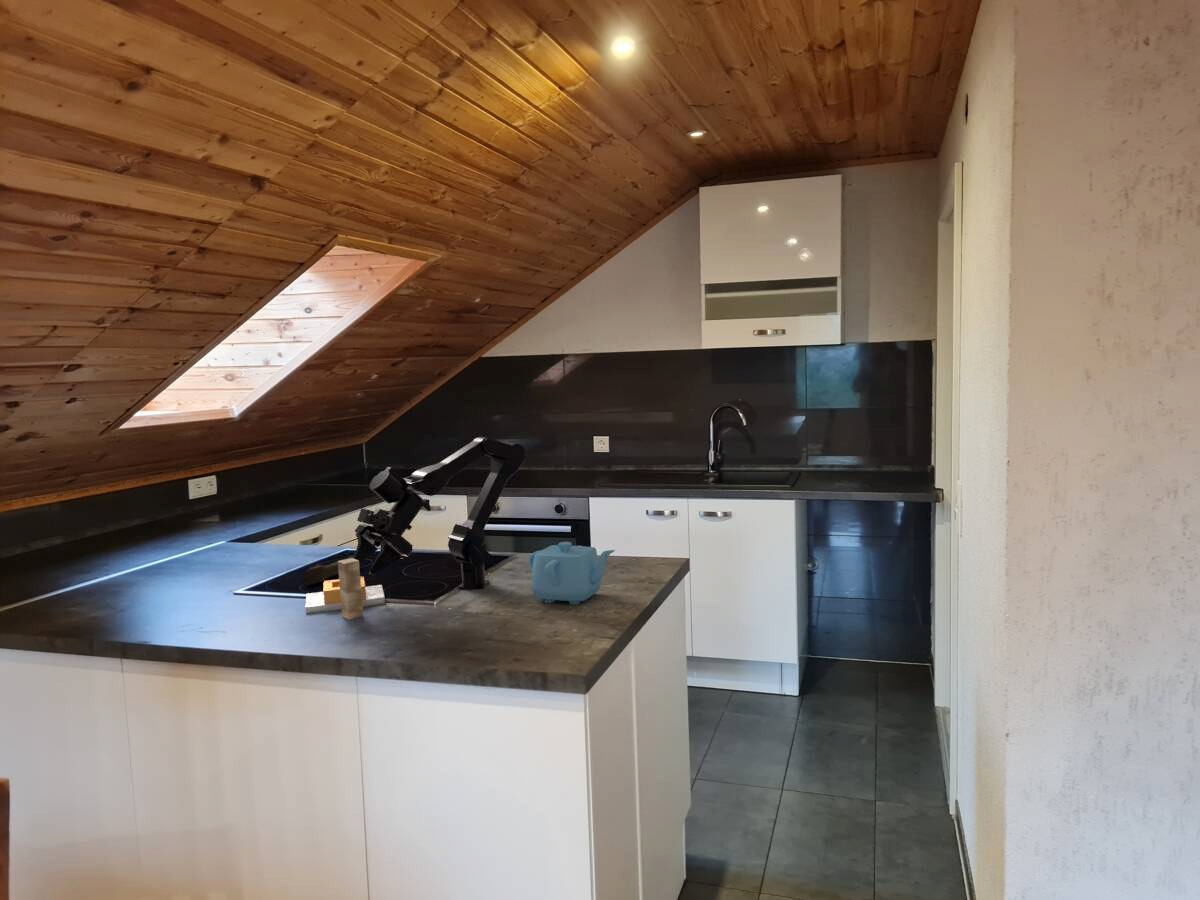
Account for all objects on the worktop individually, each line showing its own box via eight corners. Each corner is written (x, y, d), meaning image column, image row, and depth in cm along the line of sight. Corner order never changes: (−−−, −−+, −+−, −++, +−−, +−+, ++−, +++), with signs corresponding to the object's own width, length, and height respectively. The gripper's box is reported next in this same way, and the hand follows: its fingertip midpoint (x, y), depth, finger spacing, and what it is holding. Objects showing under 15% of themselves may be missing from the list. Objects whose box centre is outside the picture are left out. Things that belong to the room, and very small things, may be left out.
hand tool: (350, 568, 245) (348, 552, 245) (361, 569, 243) (359, 553, 243) (298, 586, 229) (297, 569, 228) (310, 587, 227) (308, 570, 226)
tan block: (356, 612, 202) (352, 558, 201) (363, 616, 200) (358, 560, 198) (342, 616, 200) (337, 561, 198) (348, 619, 197) (344, 563, 196)
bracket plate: (382, 590, 220) (380, 573, 219) (385, 603, 209) (383, 585, 208) (307, 599, 215) (305, 581, 214) (306, 613, 203) (304, 594, 203)
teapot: (541, 612, 196) (538, 554, 195) (525, 593, 212) (522, 539, 210) (618, 602, 202) (615, 545, 200) (596, 584, 217) (594, 531, 216)
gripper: (359, 490, 209) (318, 543, 203) (396, 499, 195) (353, 556, 189) (391, 517, 215) (353, 570, 209) (430, 527, 201) (389, 584, 195)
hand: (361, 569), depth 200 cm, fingers open, 9 cm apart
